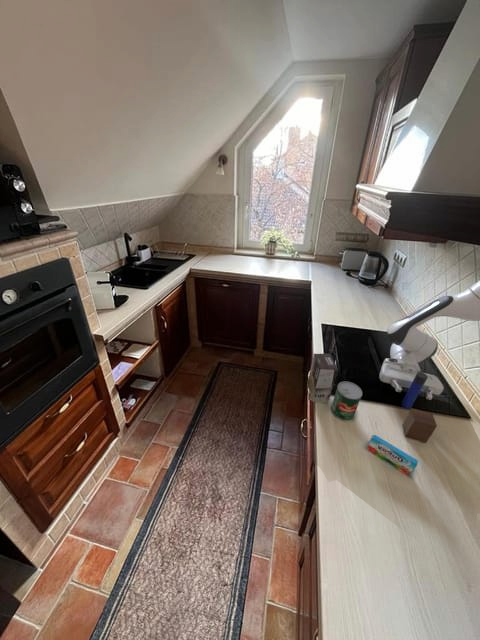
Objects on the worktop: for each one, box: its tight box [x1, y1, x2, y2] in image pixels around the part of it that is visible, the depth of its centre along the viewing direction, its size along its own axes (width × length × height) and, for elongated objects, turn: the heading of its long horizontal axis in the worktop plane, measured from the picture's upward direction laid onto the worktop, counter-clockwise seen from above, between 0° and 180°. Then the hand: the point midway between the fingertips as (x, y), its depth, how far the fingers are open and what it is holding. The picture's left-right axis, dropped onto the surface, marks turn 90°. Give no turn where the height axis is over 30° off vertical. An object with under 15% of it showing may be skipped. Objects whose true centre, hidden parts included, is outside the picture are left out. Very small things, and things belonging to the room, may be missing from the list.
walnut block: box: [401, 407, 438, 444], centre depth 81 cm, size 5×6×8 cm
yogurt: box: [365, 433, 419, 477], centre depth 74 cm, size 12×2×6 cm, turn 48°
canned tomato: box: [330, 380, 363, 422], centre depth 88 cm, size 8×8×11 cm
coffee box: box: [306, 353, 339, 404], centre depth 93 cm, size 9×6×16 cm
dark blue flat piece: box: [401, 371, 428, 410], centre depth 90 cm, size 13×3×13 cm
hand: (413, 394), depth 89 cm, fingers open, 8 cm apart
